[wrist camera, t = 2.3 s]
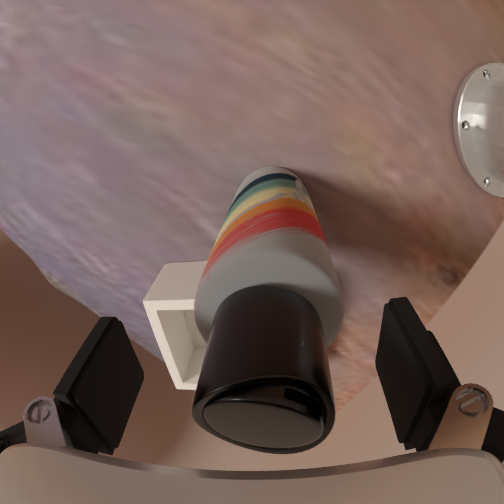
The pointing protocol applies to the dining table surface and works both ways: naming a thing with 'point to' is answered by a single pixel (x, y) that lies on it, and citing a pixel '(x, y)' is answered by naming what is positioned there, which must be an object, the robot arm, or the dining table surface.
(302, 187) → the lotion bottle
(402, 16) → the dining table surface
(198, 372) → the caddy
